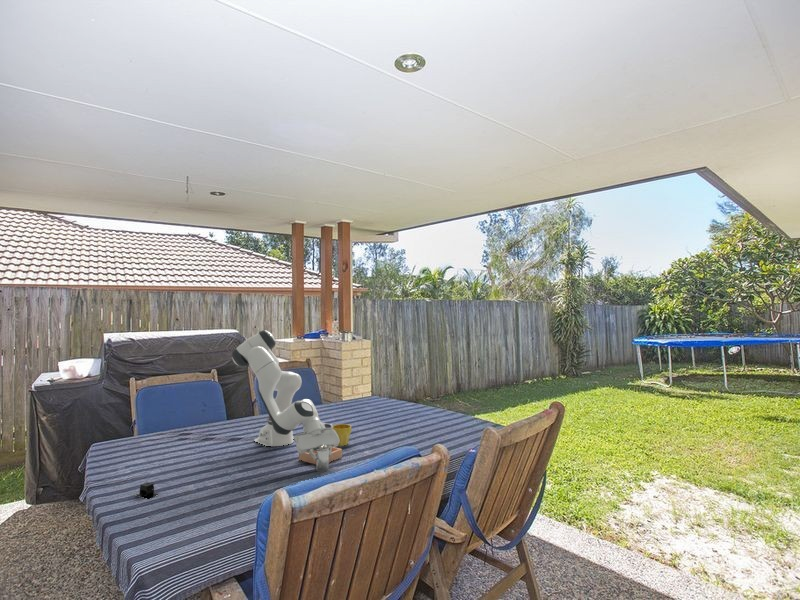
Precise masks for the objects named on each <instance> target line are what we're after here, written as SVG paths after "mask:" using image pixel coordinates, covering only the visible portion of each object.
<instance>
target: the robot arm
mask: <svg viewBox="0 0 800 600" xmlns="http://www.w3.org/2000/svg"><path fill="white" fill-rule="evenodd" d="M276 344H277V343H276V338H275V336H274V335H273V333H271V332H270V331H268V330H267V329H263V330H260V331H258V333H256V334H254V335H252V336H250V337H249V338H247V339H246V340H245V341H243V342H242V343H240V344H239V345H238V346H237V347H235V348H234V349H233V350H232V351H231V359H232V362H233V363H234V364H235V365H237V366H238V367H239V368H249V367H250V368H251V370H252V372H253V374H254V375H255V377H256V379H257V381H258V388H257V392H258V394H259V397H260V399H261V401H262V404H263V406H264V408H265V411H266V412H267V414H268V416H269V417H268V418H267V419H266V421H267V423H266V425H263V427H262V428H261V429H259V432H258V437H257V438H255V439H254V440H253V442H254V441H255V443H256V442H258V443H257V444H259V443H260V444H259V445H261V444H263V445H262V446H264V445H265V446H264V447H266V446H271V447H283V445H284V446H288V444H289V445H291V444H293V443H294V442H295V445H296V450H297V453H298V454H299V453H300V454H301V453H306V452H309V454H310V455H311V456H312V457H313V459H314V460H316V459H317V458H318V456H317V454H315V453H314V452H313V451H316V448H318V447H320V445H322V444H323V445H324V446H325V445H326V446H328V447H329V457H330V456H332V453H331V450H332V447H335V448H338V447H339V446H338V444H339V442H340V440H339V437H338V435H337V433H336V431H335V430H333V426H334V425H333V424H331V423H326V422H322V421H321V419H320V417H319V413H318V410H317V407H316V405H315V404H314V403H313V400H311V399H308V398H303V399H301V400H296V401H294V402H293V399H294V396H295V394H296V393H297V391H299V390H300V388H301V387H302V384H303V382H302V381H303V380H302V377H301V375H300V374H298V373H296V372H293V371H287V370H282V369H281V366H280V361H279V359H278V358H277V356H276V355H275V354H274V353H273V351H272V349H274V347H276ZM275 391H276V392H277V393H276V396H275V398H274V393H275ZM300 424H302V430H303V432H300V433H296V434H295V435H294V433H293V430H294V429H296V427H298V426H299V425H300ZM293 439H294V440H293Z"/></svg>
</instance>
